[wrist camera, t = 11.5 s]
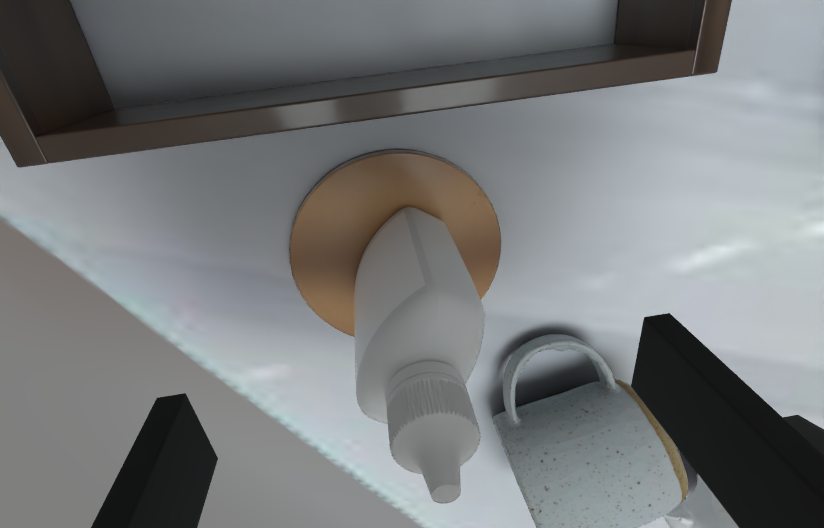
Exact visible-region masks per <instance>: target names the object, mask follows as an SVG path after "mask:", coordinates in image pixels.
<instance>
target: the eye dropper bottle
mask: <svg viewBox="0 0 824 528" xmlns="http://www.w3.org/2000/svg"><path fill="white" fill-rule="evenodd" d="M354 310H355V371H356V393H357V401H358V404H359V406H360V408H361V410H362V412H363V413H364V414H365V415H367V416H368V417H370V418H372V419H374V420H377V421H379V422H382V423H386V424H388V431H389V441H390V450H391V453H392V456H393V458H394V460H395V461H396V462H397V463H398V464H399V465H400V466H401V467H403V468H405V469H406V470H409V471H411V472H414V473H418V474H423V476H424V479H425V481H426V484H427V486H428V489H429V492H430V494H431V497H432V499H433V500H434V501H435V502H437V503H449V502H452V501H454V500H456V499H457V498H458V497H459V496H460V493H461V489H460V466H461V465H463V464H464V463H465V462H467V461H468V460H469V459H470V458H471V457H472V455H473V454H474V453H475V451H476V449H477V448H478V445H479V442H480V430H479V426H478V423H477V420H476V417H475V414H474V411H473V408H472V405H471V401H470V398H469V395H468V392H467V389H466V386H465V384H466V382H467V380H468V378H469V376H470V374H471V372H472V370H473V368H474V365H475V363H476V360H477V357H478V354H479V351H480V347H481V343H482V339H483V332H484V324H485V314H484V310H483V306H482V302H481V299H480V297H479V295H478V292H477V290H476V288H475V285H474V283H473V281H472V279H471V277H470V275H469V272H468V270H467V268H466V266H465V264H464V262H463V260H462V257H461V255H460V253H459V251H458V249H457V247H456V245H455V243H454V241H453V239H452V236H451V234H450V232H449V230H448V228H447V226H446V224H445V223H444V222H443V221H441V220H440V219H438V218H436V217H434V216H432V215H430V214H428V213H426V212H423V211H421V210H419V209H417V208H412V207H407V208H404V209H401V210H400V211H398V212H397V213H396V214H394V215H393V216H392V217H391V218H390V219H389V220H388V221H387V222H385V224H384V225H383V226H382V227H381V228H380V229H379V230H378V231H377V232H376V234H375V235H374V236H373V238H372V239H371V241H370V242H369V244H368V246H367V248H366V249H365V251H364V254H363V256H362V258H361V261H360V264H359V267H358V271H357V275H356V281H355V290H354Z"/></svg>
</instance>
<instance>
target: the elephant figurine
mask: <svg viewBox="0 0 824 528" xmlns="http://www.w3.org/2000/svg"><path fill="white" fill-rule="evenodd" d="M662 517H664V518H665V520H666V521H667V523H668V525H669V527H670V528H739V527H738V526H737V524H736V523H735V522H734V520H733V519H732V518H731V517H730V515H729V514H728V513H727V511H726V510H725V509H724V507H723V506H722V505H721V503H720V502H719V501H718V500H717V498H716V497H715V496H714V494H713V493H712V492H711V490H710V489H709V488H708V486H707V485H706V484H705V483H704V481H703V480H702V479H701V477H700V476H699V475H698V474H697V485H696V488H695V490H694V492H693V493H692V494H691V496H690V497H689V498H687V499H686V497H685V499H684V501H683V502H682V503H681V504H679V505H678V506H677V507H675V508H674V509H673V510H671V511H670V512H669V513H667V514H666V515H664V516H662Z"/></svg>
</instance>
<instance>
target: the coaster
mask: <svg viewBox="0 0 824 528" xmlns="http://www.w3.org/2000/svg"><path fill="white" fill-rule="evenodd" d="M407 207H412V208H417V209H419V210H421V211H423V212H426V213H428V214H430V215H432V216H434V217H436V218H438V219H440V220H441V221H443V222H444V223H445V224H446V226H447V228H448V230H449V232H450V234H451V236H452V239H453V241H454V243H455V245H456V247H457V249H458V251H459V253H460V255H461V257H462V260H463V262H464V264H465V266H466V268H467V270H468V272H469V275H470V277H471V279H472V281H473V283H474V285H475V288H476V290H477V292H478V295H479V297H480V299H482V298H483V296H484V295H485V293H486V292H487V290H488V289H489V287H490V285H491V283H492V281H493V279H494V276H495V273H496V270H497V267H498V263H499V258H500V250H501V237H500V228H499V224H498V220H497V216H496V214H495V211H494V209H493V206H492V204H491V203H490V201H489V199H488V198H487V196H486V194H485V193H484V192H483V191H482V189H481V188H480V187H479V186H478V184H477V183H476V182H475V181H474V180H473V179H472V178H471V177H470V176H469V175H468V174H467V173H466V172H464V171H463V170H461V169H460V168H458V167H457V166H456V165H454V164H452V163H450V162H448V161H446V160H444V159H442V158H440V157H437V156H434V155H431V154H428V153H423V152H418V151H413V150H385V151H379V152H374V153H369V154H366V155H363V156H360V157H357V158H354V159H352V160H350V161H348V162H346V163H344V164H342V165H340V166H339V167H337V168H336V169H334V170H333V171H331V172H330V173H328V174H327V175H326V176H325V177H324V178H323V179H322V180H321V181H319V182H318V183H317V184H316V185H315V187H314V188H313V189H312V190H311V192H310V193H309V194H308V195H307V197H306V199H305V200H304V202H303V203H302V205H301V207H300V209H299V211H298V214H297V216H296V218H295V221H294V225H293V229H292V233H291V238H290V247H289V253H290V265H291V270H292V274H293V277H294V280H295V283H296V286H297V288H298V289H299V291H300V293H301V295H302V297H303V298H304V300H305V301H306V302H307V304H308V305H309V307H310V308H311V309H312V310H313V311H314V312H315V313H316V314H317V315H318V316H319V317H320V318H322V319H323V320H324V321H325V322H327V323H328V324H330V325H331V326H333V327H334V328H336V329H338V330H340V331H342V332H344V333H346V334H348V335H351V336H354V337H355V310H354V290H355V281H356V275H357V271H358V267H359V264H360V261H361V258H362V256H363V254H364V251H365V249H366V248H367V246H368V244H369V242H370V241H371V239H372V238H373V236H374V235H375V234H376V232H377V231H378V230H379V229H380V228H381V227H382V226H383V225H384V224H385V222H387V221H388V220H389V219H390V218H391V217H392V216H393V215H394V214H396V213H397V212H398V211H400V210H401V209H404V208H407Z"/></svg>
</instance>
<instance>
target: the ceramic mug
mask: <svg viewBox="0 0 824 528" xmlns="http://www.w3.org/2000/svg"><path fill="white" fill-rule="evenodd" d="M547 349H555V350H558V351H563V350H567V349H572V350H574V351H582V352H584V353H585V354H587V356H588V357H589V358H590V359H591V361H592V363H593V364H594V366H595V368H596V370H597V372H598V375H599V381H598V382H592V383H589V384H586V385H583V386H580V387H577V388H574V389H572V390H569V391H566V392H563V393H561V394H558V395H554V396H551V397H547V398H544V399H541V400H538V401H535V402H532V403H528V404H525V405H523V406H520V407H516V408H515V388H516V383H517V381H518V378H519V376H520V373H521V371H522V370H523V369H524V367H525V364H526V362H527V361H528V360H529V359H530V358H531V357H532V355H534V354H535V353H537V352H540V351H543V350H547ZM503 397H504V405H505V409H506V411H505V412H502V413H499V414H497V415H495V416H494V417H493V423H494V425H495V427H496V431H497V433H498V436H499V438H500V440H501V443H502V446H503V448H504V451H505V453H506V456H507V458H508V460H509V463H510V465H511V468H512V470H513V473H514V475H515V478H516V480H517V483H518V485H519V487H520V490H521V492H522V494H523V497H524V499H525V501H526V504H527V506H528V509H529V511H530V513H531V516H532V518H533V520H534V522H535V525H536V528H637V527H640V526H642V525H645V524H647V523H649V522H652V521H654V520H656V519H658V518H660V517H662V516H664V515H666V514H667V513H669V512H670V511H671V510H673V509H674V508H675V507H677V506H678V505H679V504H681V503H682V502H683V501H684V499H685V497H686V495H687V492H688V479H687V474H686V471H685V468H684V465H683V462H682V459H681V456H680V454H679V452H678V450H677V448H676V446H675V444H674V442H673V441H672V439H671V438H670V437H669V435H668V434H667V433H666V431H665V430H664V429H663V428H662V426H661V425H660V424H659V422H658V421H657V420H656V418H655V417H654V416H653V414H652V413H651V412H650V411H649V409H648V408H647V407H646V405H645V404H644V403H643V401H642V400H641V399H640V397H639V396H638V395H637V394H636V392H635V391H634V390H633V388H632V387H631V386H630V385H628V384H626V383H624V382H622V381H620V380H616V379H614V377H613V375H612V371H611V370H610V369H609V367H608V365H607V363H606V362H605V361H604V359H603V358H602V357H601V356H600V355H599V354H598V353H597V352H596V351H595V350H594V349H593V348H592V347H591V346H589V345H588V344H586V343H585V342H583V341H581V340H579V339H578V338H574V337H572V336H568V335H562V334H550V335H545V336H541V337H537V338H535V339H532V340H530V341H528V342H526V343H524V344H523V345H522V346H520V347H519V348H518V349H517V350H516V351H515V352H514V353H513V355H512V356H511V358H510V360H509V362H508V364H507V366H506V368H505V372H504V378H503Z"/></svg>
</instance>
